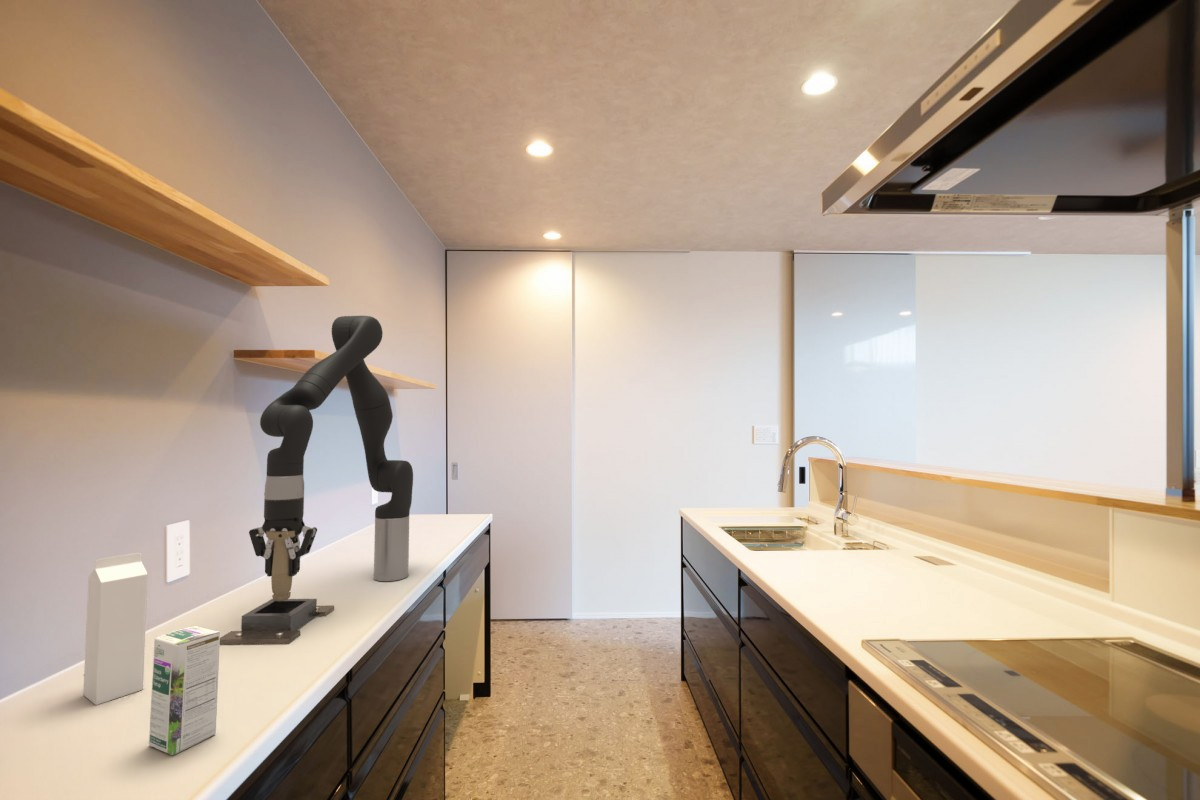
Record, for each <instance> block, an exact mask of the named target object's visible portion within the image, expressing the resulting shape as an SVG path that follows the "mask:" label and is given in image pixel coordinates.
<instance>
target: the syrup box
mask: <svg viewBox="0 0 1200 800" xmlns="http://www.w3.org/2000/svg"><path fill="white" fill-rule="evenodd" d="M220 637H221V631H220V630H212V629H209V628H205V627H200V626H198V625H196V626H195V625H194V626H190V627H185V628H181V629H177V630H173V631H170V632H168V633H165V634H162V635H159V636H158V637H157V636H156V637H155V638H154V642H153V643H154V647H153V659H152V660H153V661H152V664H153V665H152V678H151V679H152V681H151V696H150V697H151V699H150V700H151V701H150V715H149V716H150V717H149V733H148V734H149V735H148V738H149V739H148V745H149V747H150V748H151V747H152V748H155V749H157V750H158V751H162V752H164V753H166V754H169V755H170V756H175V755H177V754H179V753H181V752H183V751H185V750H186V749H188V748H191V747H193V746H195V745H197V744H199V743H201V742H203V741H204V740H207V739H208V738H210V737H211V738H212V736H215V735H216V733H217V714H218V712H217V711H218V689H219V669H220V667H219V666H220V647H221V645H220Z"/></svg>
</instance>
